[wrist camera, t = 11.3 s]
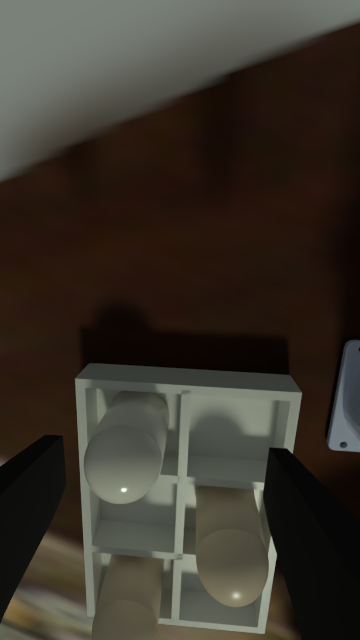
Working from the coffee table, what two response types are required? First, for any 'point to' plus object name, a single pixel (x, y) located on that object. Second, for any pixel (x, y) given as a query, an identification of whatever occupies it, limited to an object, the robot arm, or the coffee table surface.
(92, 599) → the egg carton
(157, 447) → the egg
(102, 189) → the coffee table surface
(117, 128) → the coffee table surface
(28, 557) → the robot arm
